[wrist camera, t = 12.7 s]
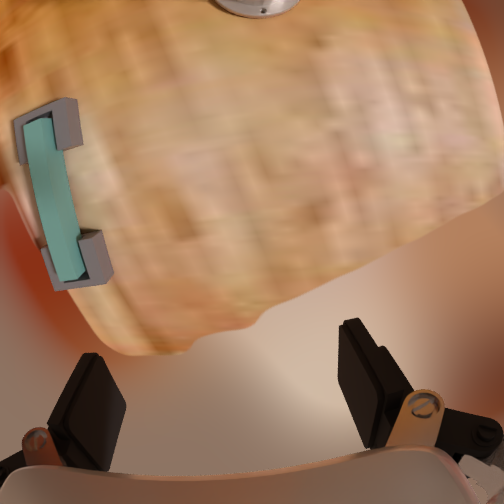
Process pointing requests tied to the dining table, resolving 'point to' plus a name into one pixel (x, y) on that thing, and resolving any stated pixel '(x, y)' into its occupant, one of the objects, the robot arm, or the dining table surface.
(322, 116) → the dining table surface
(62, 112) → the end caps
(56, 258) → the slat
